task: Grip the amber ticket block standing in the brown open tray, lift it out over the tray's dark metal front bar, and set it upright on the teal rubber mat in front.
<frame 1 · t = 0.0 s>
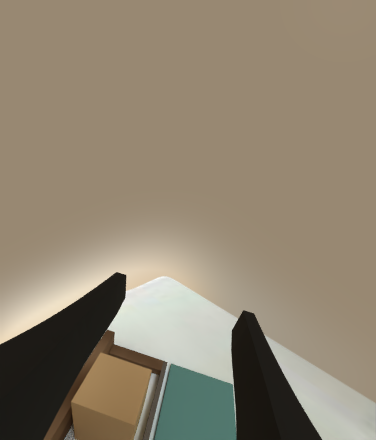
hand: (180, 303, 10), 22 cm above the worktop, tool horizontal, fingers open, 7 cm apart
ticket block: (112, 420, 19), resting in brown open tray
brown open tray: (112, 420, 19), on the worktop
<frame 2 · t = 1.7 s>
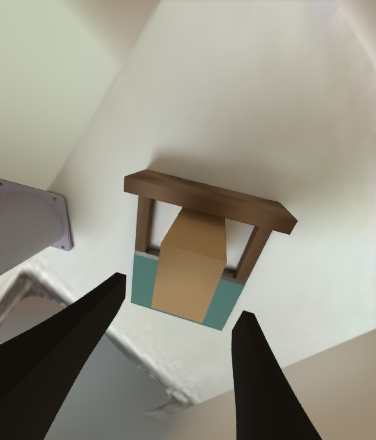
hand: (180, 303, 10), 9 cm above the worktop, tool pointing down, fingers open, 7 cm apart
mat: (181, 292, 22), on the worktop
ticket block: (198, 230, 18), resting in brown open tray
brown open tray: (198, 231, 18), on the worktop
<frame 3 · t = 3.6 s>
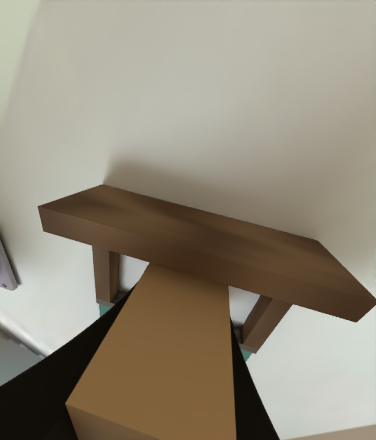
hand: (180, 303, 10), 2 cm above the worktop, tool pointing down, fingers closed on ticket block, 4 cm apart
ticket block: (187, 274, 12), resting in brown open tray, touching gripper
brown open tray: (187, 274, 12), on the worktop
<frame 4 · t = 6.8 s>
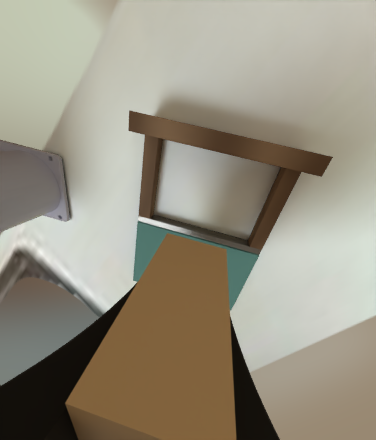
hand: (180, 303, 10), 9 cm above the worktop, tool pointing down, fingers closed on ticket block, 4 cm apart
mat: (188, 267, 21), on the worktop
ticket block: (187, 274, 12), point 7 cm above the worktop, touching gripper
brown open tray: (209, 193, 16), on the worktop
when the fingers open (4 cm above the worktop, at t = 10.1 s): ticket block stays where it is, resting on mat.
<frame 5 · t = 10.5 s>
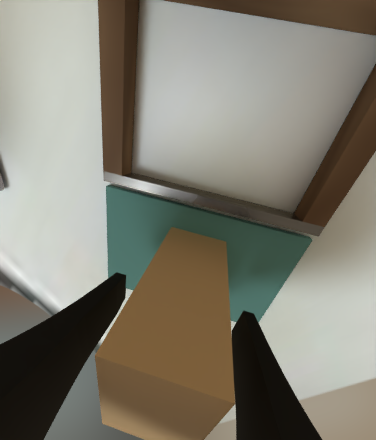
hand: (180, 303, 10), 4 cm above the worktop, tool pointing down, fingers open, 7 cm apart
mat: (190, 262, 13), on the worktop
ticket block: (189, 265, 13), resting on mat
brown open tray: (228, 121, 9), on the worktop
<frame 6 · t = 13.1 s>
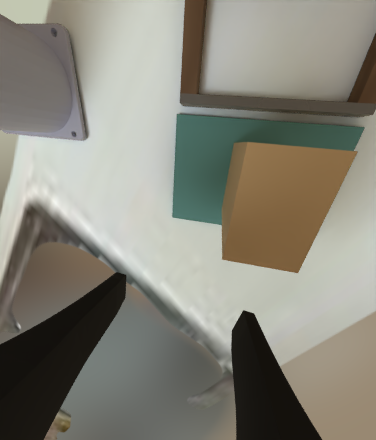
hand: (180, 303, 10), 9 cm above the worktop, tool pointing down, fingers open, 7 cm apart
mat: (248, 180, 15), on the worktop
ticket block: (249, 181, 15), resting on mat
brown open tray: (285, 28, 11), on the worktop
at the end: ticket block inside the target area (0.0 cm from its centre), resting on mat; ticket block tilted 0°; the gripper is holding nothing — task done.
